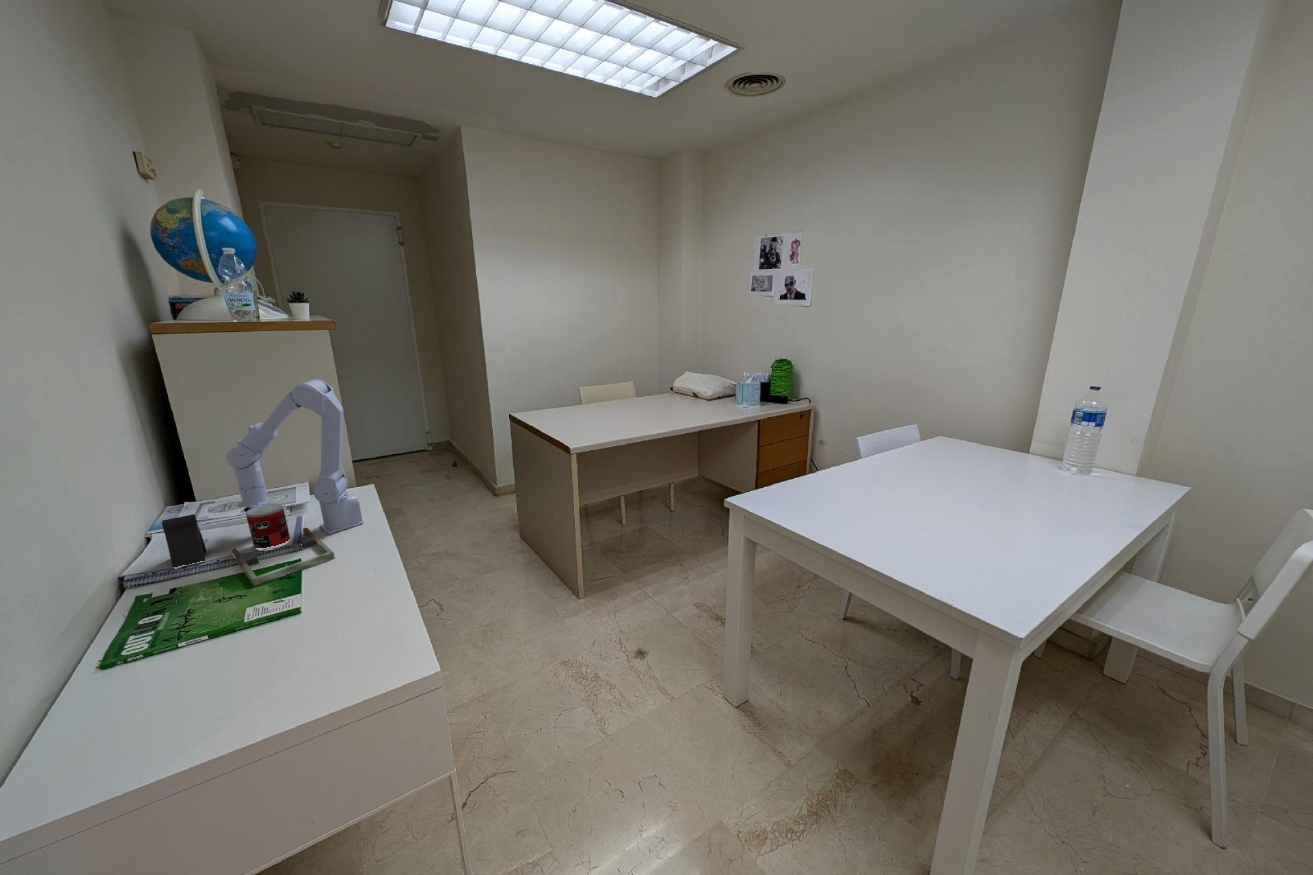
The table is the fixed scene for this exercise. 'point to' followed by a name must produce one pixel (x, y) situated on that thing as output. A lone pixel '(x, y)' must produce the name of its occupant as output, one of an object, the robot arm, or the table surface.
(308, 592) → the table surface
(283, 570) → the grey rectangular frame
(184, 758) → the table surface
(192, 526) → the phone stand
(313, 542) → the trap blocks
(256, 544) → the canned food
